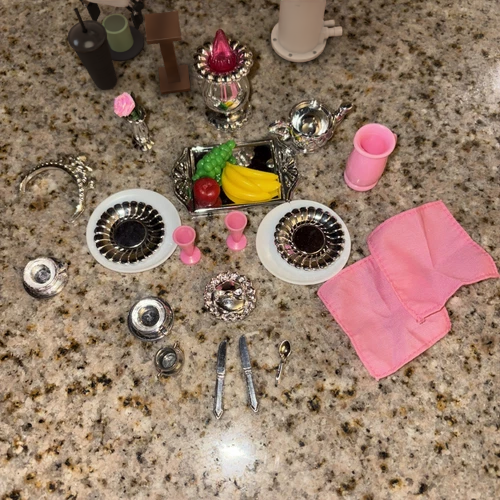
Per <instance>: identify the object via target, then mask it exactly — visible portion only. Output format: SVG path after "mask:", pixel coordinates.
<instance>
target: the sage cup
mask: <svg viewBox="0 0 500 500" xmlns="http://www.w3.org/2000/svg"><path fill="white" fill-rule="evenodd" d="M101 24H102V25H103V26H104V27H105V29H106V32H107V41H108V43H109V46H110V48H111V49H112V50H114V51H116V52H124V51H127V50H129V49H130V48H131V47H132V45H133V37H132V33H131V30H130V27H129V26H130V24H129V21H128V19H127V17H126V16H125V15H123V14H122V13H111V14H108V15H107V16H105V17H104V18H103V20H102V22H101Z"/></svg>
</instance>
